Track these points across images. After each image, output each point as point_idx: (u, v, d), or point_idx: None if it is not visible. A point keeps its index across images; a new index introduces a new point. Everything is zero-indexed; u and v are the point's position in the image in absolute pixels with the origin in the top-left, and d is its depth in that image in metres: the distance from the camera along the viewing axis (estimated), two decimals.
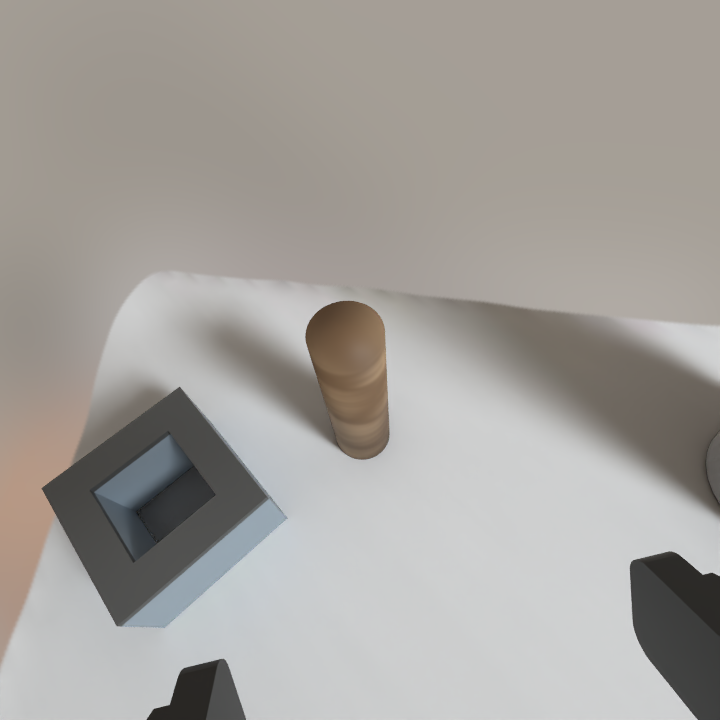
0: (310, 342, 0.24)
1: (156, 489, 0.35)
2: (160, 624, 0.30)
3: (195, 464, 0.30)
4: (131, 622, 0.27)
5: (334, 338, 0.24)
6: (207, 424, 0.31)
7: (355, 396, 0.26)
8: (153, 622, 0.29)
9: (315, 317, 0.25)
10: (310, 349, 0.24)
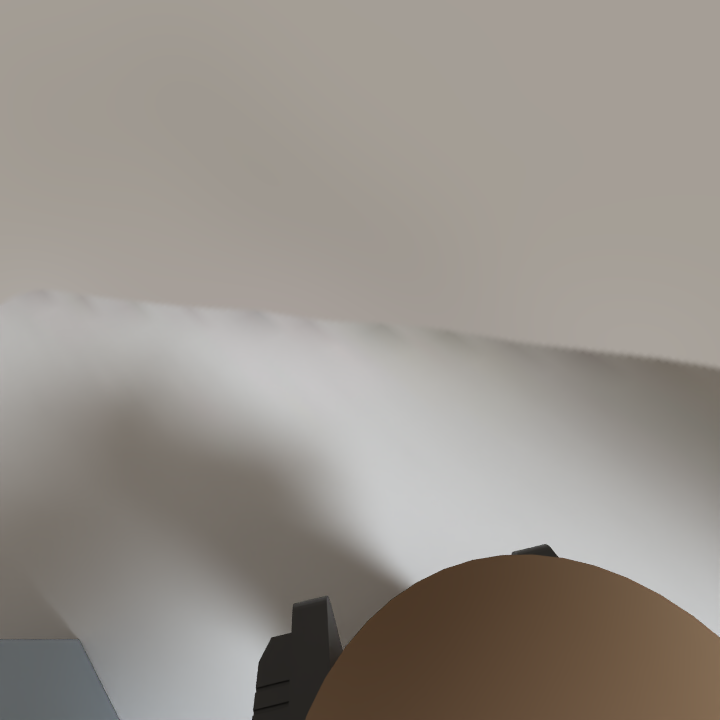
0: None
1: None
2: None
3: None
4: None
5: None
6: None
7: None
8: None
9: (341, 688, 0.04)
10: None
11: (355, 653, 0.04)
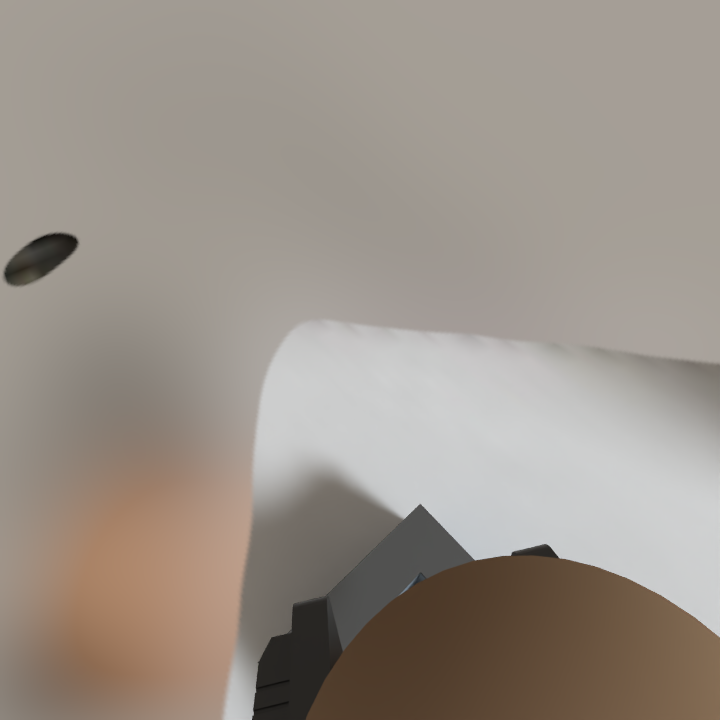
0: None
1: None
2: None
3: None
4: None
5: None
6: None
7: None
8: None
9: (341, 690, 0.04)
10: None
11: (355, 655, 0.04)
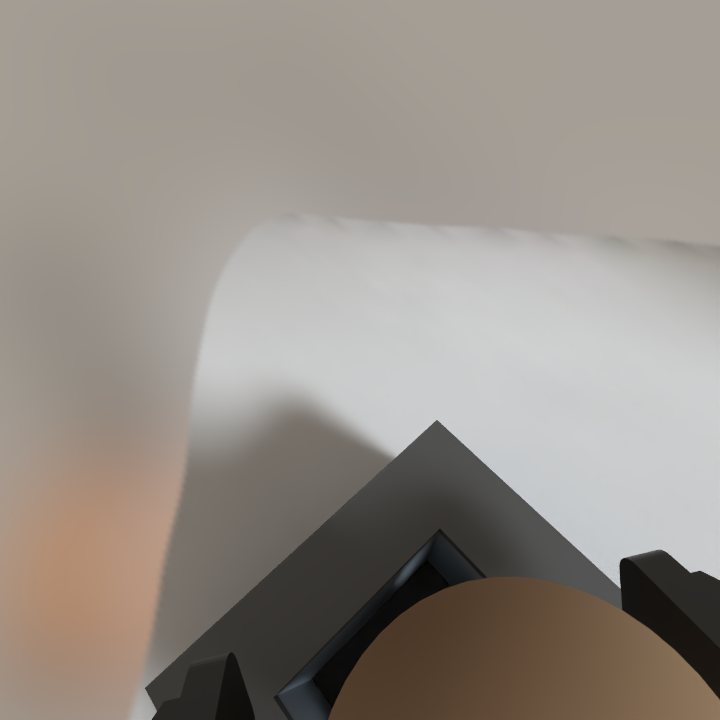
0: None
1: (355, 631, 0.17)
2: None
3: None
4: None
5: None
6: (534, 513, 0.13)
7: None
8: None
9: (359, 688, 0.05)
10: None
11: (370, 660, 0.05)
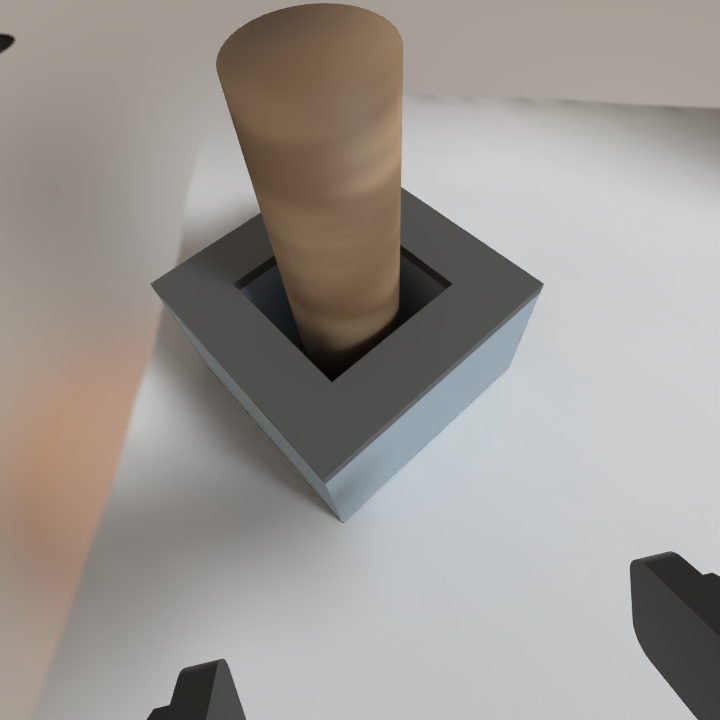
0: (226, 69, 0.10)
1: None
2: (344, 513, 0.18)
3: (405, 245, 0.18)
4: (335, 483, 0.15)
5: (283, 60, 0.10)
6: (410, 195, 0.19)
7: (336, 229, 0.12)
8: (345, 501, 0.17)
9: (243, 30, 0.11)
10: (225, 79, 0.10)
11: (249, 24, 0.11)
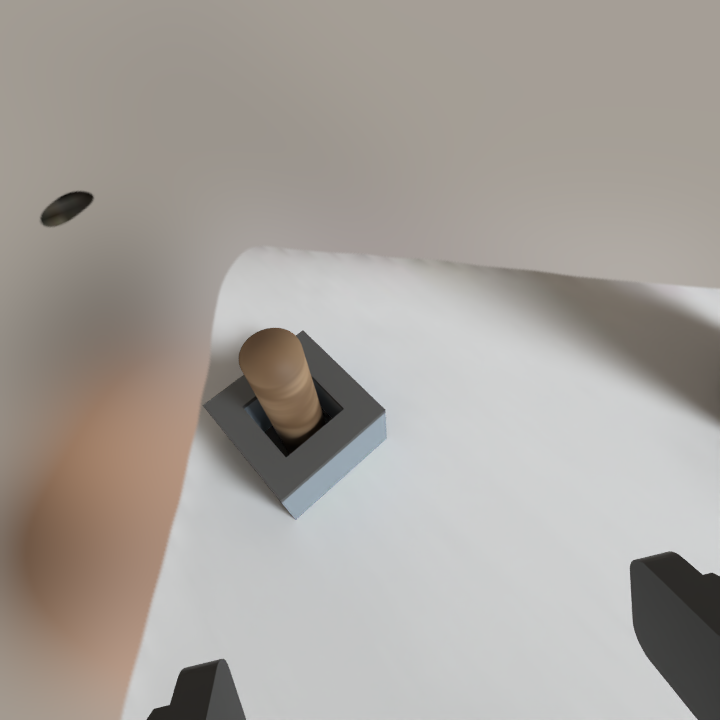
0: (242, 362, 0.30)
1: None
2: (295, 514, 0.38)
3: (324, 387, 0.38)
4: (286, 502, 0.35)
5: (261, 359, 0.30)
6: (330, 357, 0.39)
7: (283, 405, 0.32)
8: (294, 509, 0.37)
9: (248, 341, 0.31)
10: (242, 367, 0.30)
11: (250, 338, 0.31)
